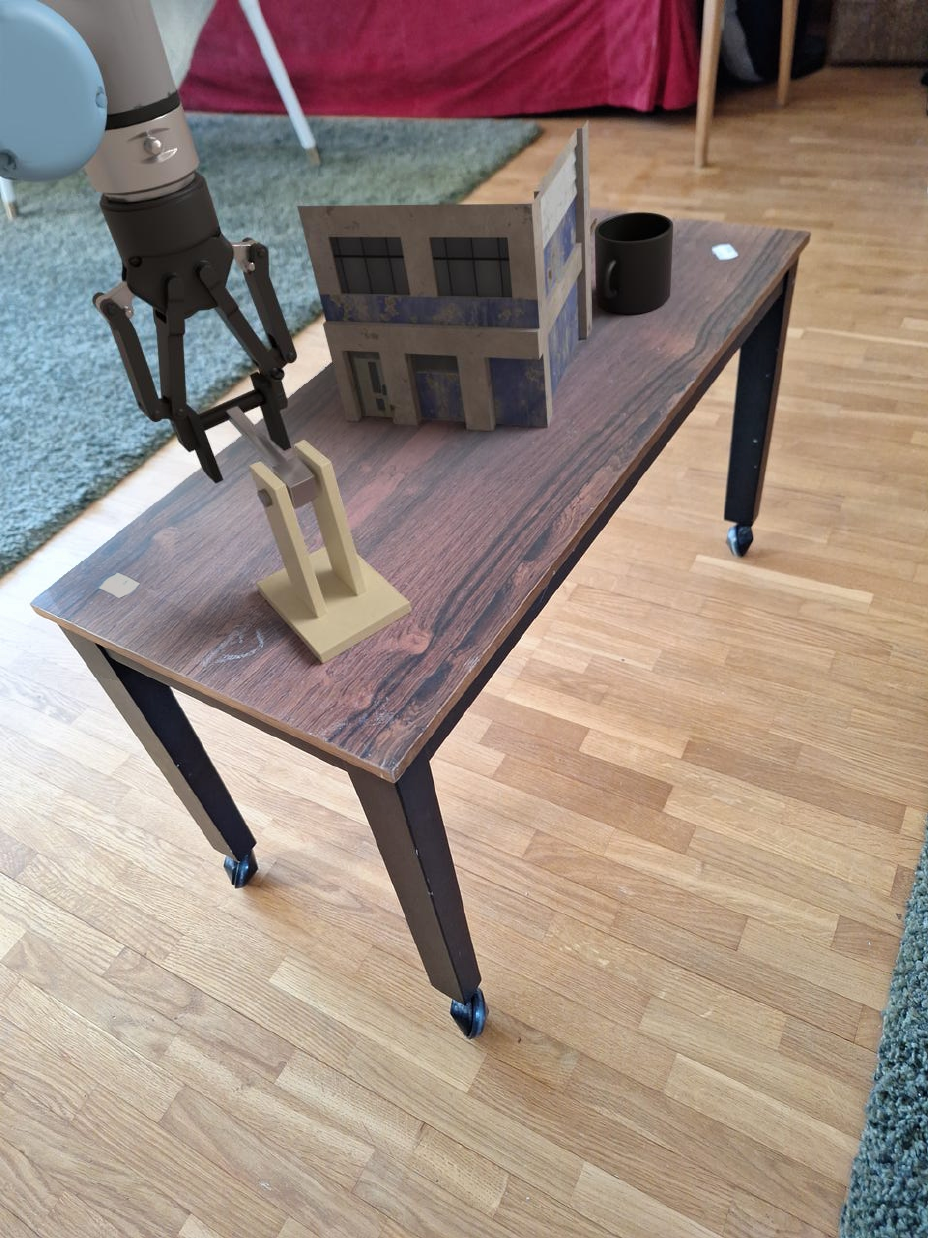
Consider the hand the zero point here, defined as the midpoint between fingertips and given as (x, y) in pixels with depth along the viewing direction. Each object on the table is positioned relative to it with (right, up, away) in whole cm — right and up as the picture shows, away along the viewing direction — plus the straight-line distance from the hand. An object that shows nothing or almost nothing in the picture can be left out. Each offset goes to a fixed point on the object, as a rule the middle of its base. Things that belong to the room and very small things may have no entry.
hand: (247, 458), depth 76 cm
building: (+20, +15, +26) cm, 37 cm away
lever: (+3, -1, -5) cm, 6 cm away
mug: (+40, +26, +34) cm, 59 cm away
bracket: (+8, -13, 0) cm, 15 cm away
